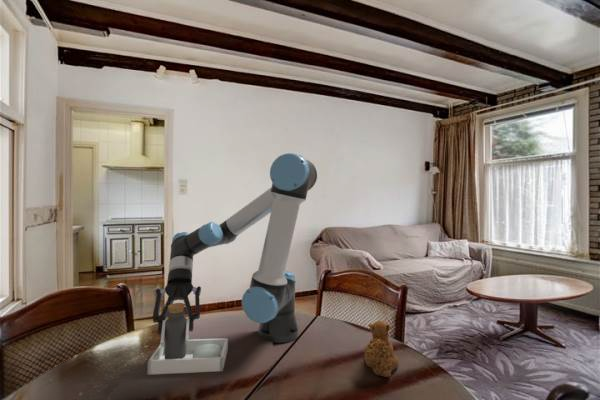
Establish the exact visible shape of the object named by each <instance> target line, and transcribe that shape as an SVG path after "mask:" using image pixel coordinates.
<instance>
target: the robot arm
mask: <svg viewBox="0 0 600 400" xmlns="http://www.w3.org/2000/svg"><path fill="white" fill-rule="evenodd" d="M269 169H270V170H269V177H270V180H271V182H272V184H271V187H270V188H268V189H267V190H265V191H264V192H263V193H261V194H260V195H259V196H258V197H256V198H254V199H253V200H252V201H250V202H249V203H248V204H246V205H245V206H244V207H242V208H241V209H239V210H238V211H237V212H235V213H234V214H233V215H231V216H230V217H229V218H227V219H226V220H224V221H223V222H221V223H220V224H218V223H216V222H213V221H210V222H208V223H206V224H203V225H202V226H200V227H198V228H196V229H195V230H194V231H191V232H189V231H188V232H186V231H182V232H177V233H176V234H174V235H173V237H172V240H171V244H170V253H169V254H170V256H169V264H168V274H167V282H166V285H165V287H164V288H162V289H160V288H156V290H155V295H156V298H155V302H154V308H153V313H152V321H153V323H157V324H158V327H157V334H158V335H160V336H161V337H160V344H161V347H164V342H165V324H166V320H167V317H168V316H167V312H168V311H169V310H168V306H169V305H170V304H174V302H175V301H178V300H179V301H183V304H185V307H184V308H185V311H186V314H187V316H188V317H186V319H187V322H186V339H185V342H186V344H188V343H189V340H190V339H189V338H190V337H189V336H190V332H193V330H194V321H195V320H199V319H200V316H201V311H200V309H201V307H200V295H201V293H202V287H201V286H199V285H198V286H197V287H196V286H194V285H193V280H192V279H193V264H194V263H193V262H194V256H195V255H197V254H199V253H200V252H202V251H204V250H207V249H209V248H212V247H217V246H222V245H228V244H230V243H233V242H234V241H235V240H236V239H237V237H238V236H239V235H241V234H242V233H243V232H245V231H246V230H248V229H249V228H251V227H252V226H254V225H255V224H256V223H258V222H259V221H260V220H263V219H264V218H265V217H267V216H268V215H269V214H270V215H269V221H268V224H267V230H266V234H265V238H264V243H263V247H262V252H261V257H260V260H259V261H260V262H259V265H258V270H256V271H254V272H253V273H252V275H251V280H250V284H249V288H247V289H246V290H245V292H244V293H243V295H242V296H241V297H242V298H241V307H242V310H243V312H244V314H245V315H246V317H247V318H249V319H250V320H251V321H253V322H254V323H258V328H257V334H258V336H259V337H260V338H262V339H264V340H267V341H271V342H272V343H273V344H275V343H276V344H281V343H282V344H284V343H288V342H292V341H294V340H296V339H298V337H299V336H300V327H299V323H298V320H297V317H296V313H295V310H296V309H295V308H296V302H295V301H296V275H295V273H294V272H292V271H286V268H287V264H288V259H289V256H290V255H289V254H290V251H291V248H292V247H291V246H292V240H293V238H294V232H295V228H296V223H297V219H298V214H299V210H300V205H301V204H302V203H304V202H306V200H307V196H308V192H309V191H310V190H311V189H313V187H314V186H315V184H316V183H317V180H318V171H317V168H316V166H315V165H314V163H312V162H311V161H310V160H308V159H307V158H305V157H303V156H302V155H300V154H297V153H292V152H291V153H283V154H281V155H279V156H278V157H277V158H276V159H274V160H273V162H272V164H271V166H270V167H269ZM192 292H193V295H195V296H194V301H195V302H194V303H195V305H194V306H195V312H194V313H193V310H192V306H191V303H190V300H189V296H190V294H191V293H192ZM165 294H166V295H167V296H168V297H167V299H166V302H165V304H164V307H163V309H162V312H161V313H160V311H161V305H162V298H163V297H164V296H165ZM160 344H159V345H160Z"/></svg>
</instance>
